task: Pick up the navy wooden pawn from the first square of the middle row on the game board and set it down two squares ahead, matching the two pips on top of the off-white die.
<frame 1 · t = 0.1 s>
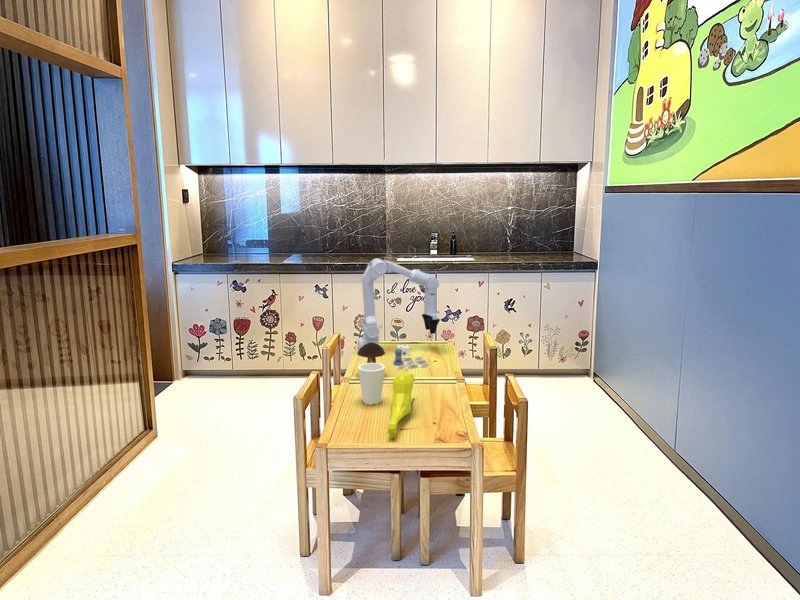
hand: (430, 331, 260), 10 cm above the table, tool pointing down, fingers open, 7 cm apart
foam cup: (371, 402, 203), on the table
pawn: (398, 363, 242), point 1 cm above the table, touching board
die: (403, 357, 256), on the table
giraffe: (400, 418, 189), on the table
decorative mushroom: (371, 379, 227), on the table
board: (409, 365, 243), on the table
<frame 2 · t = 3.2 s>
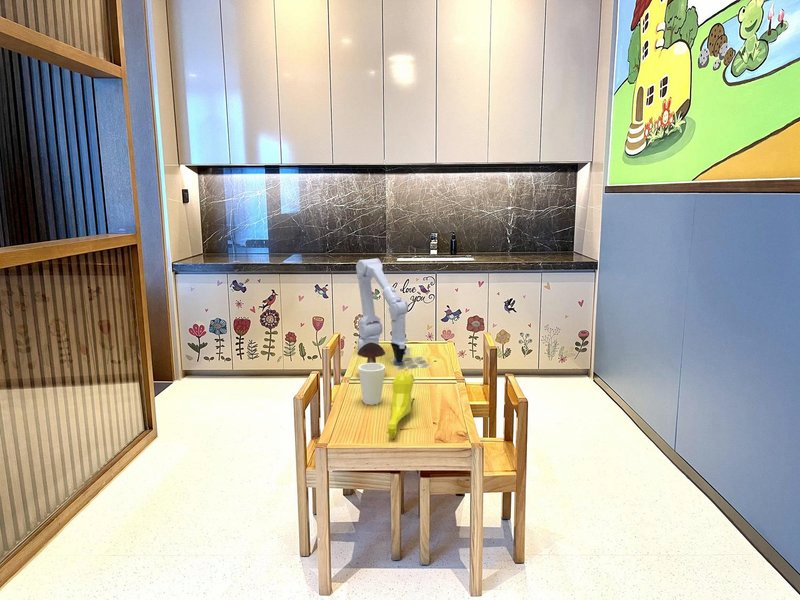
hand: (398, 360, 242), 3 cm above the table, tool pointing down, fingers closed on pawn, 3 cm apart
pawn: (398, 363, 242), point 1 cm above the table, touching board, gripper
everything else where it was.
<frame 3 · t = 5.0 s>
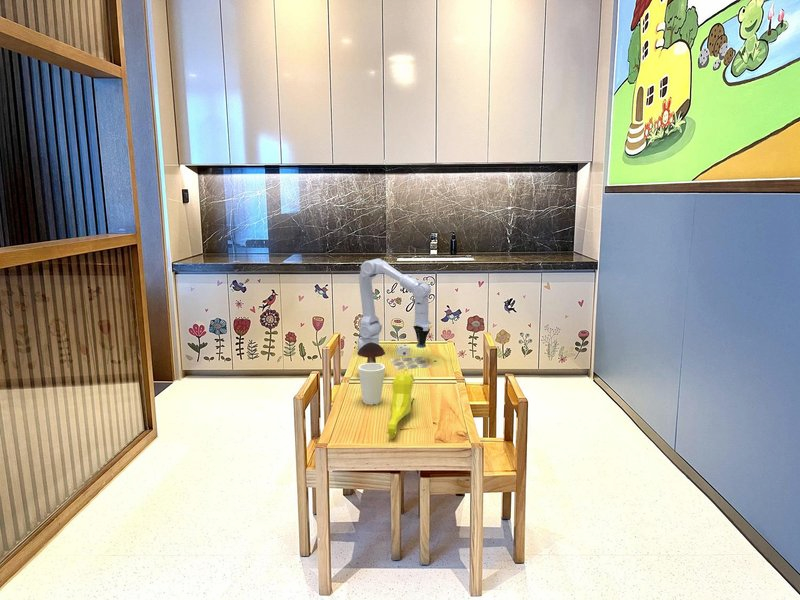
hand: (421, 343, 242), 10 cm above the table, tool pointing down, fingers closed on pawn, 3 cm apart
pawn: (421, 346, 243), point 8 cm above the table, touching gripper
everything else where it was.
when the fingers open (4 cm above the table, at t = 6.8 s): pawn stays where it is, resting on board.
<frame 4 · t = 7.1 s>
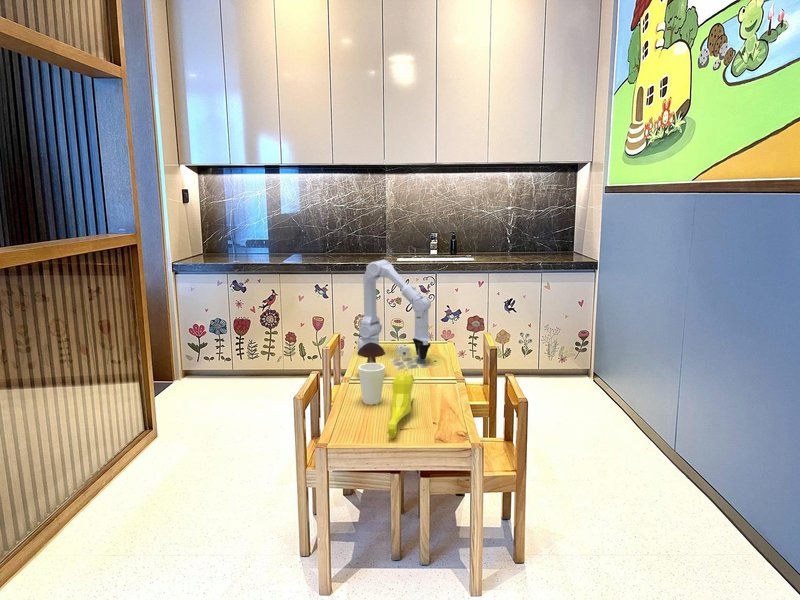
hand: (421, 356, 244), 4 cm above the table, tool pointing down, fingers open, 5 cm apart
pawn: (421, 362, 244), point 1 cm above the table, touching board
everything else where it was.
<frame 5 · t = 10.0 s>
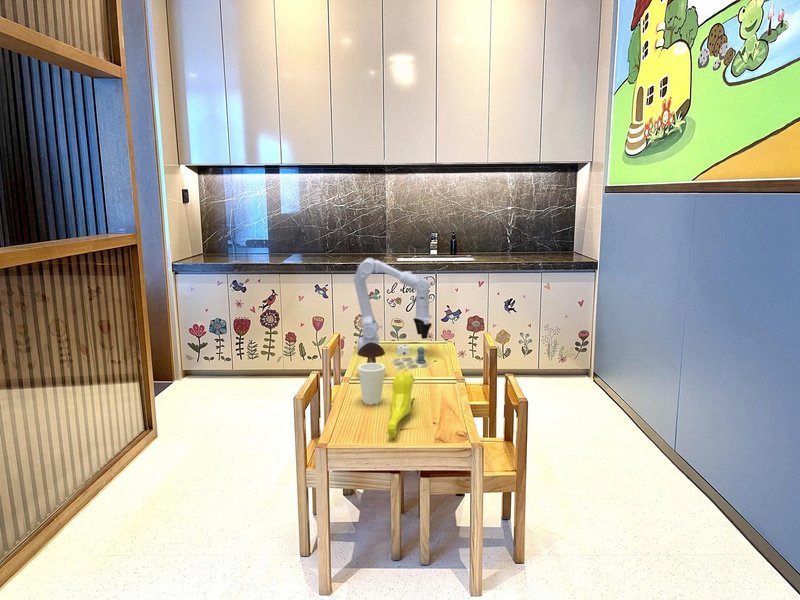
hand: (422, 336, 252), 10 cm above the table, tool pointing down, fingers open, 7 cm apart
nothing on the table moved.
at the end: pawn 0.0 cm from the target spot on the board, point 1.2 cm above the board's base; pawn tilted 1°; the gripper is holding nothing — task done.
